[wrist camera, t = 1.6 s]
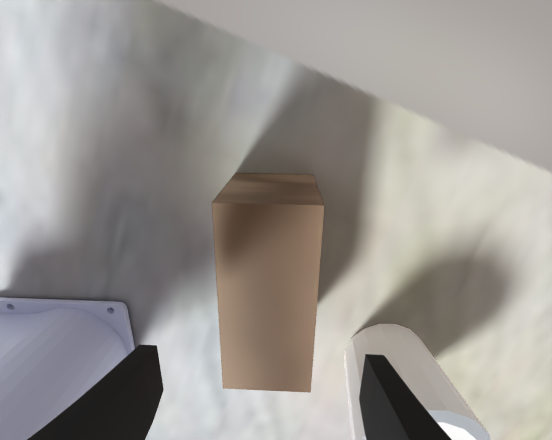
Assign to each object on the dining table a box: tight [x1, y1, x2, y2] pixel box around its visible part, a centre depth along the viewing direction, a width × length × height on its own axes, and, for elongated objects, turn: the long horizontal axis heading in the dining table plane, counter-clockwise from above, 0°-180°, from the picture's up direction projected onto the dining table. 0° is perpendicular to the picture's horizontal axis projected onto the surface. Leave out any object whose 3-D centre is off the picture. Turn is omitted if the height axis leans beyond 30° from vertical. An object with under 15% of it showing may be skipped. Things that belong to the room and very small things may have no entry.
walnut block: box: [212, 173, 324, 392], centre depth 17 cm, size 4×10×6 cm, turn 179°
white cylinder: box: [344, 324, 491, 440], centre depth 19 cm, size 7×7×7 cm
